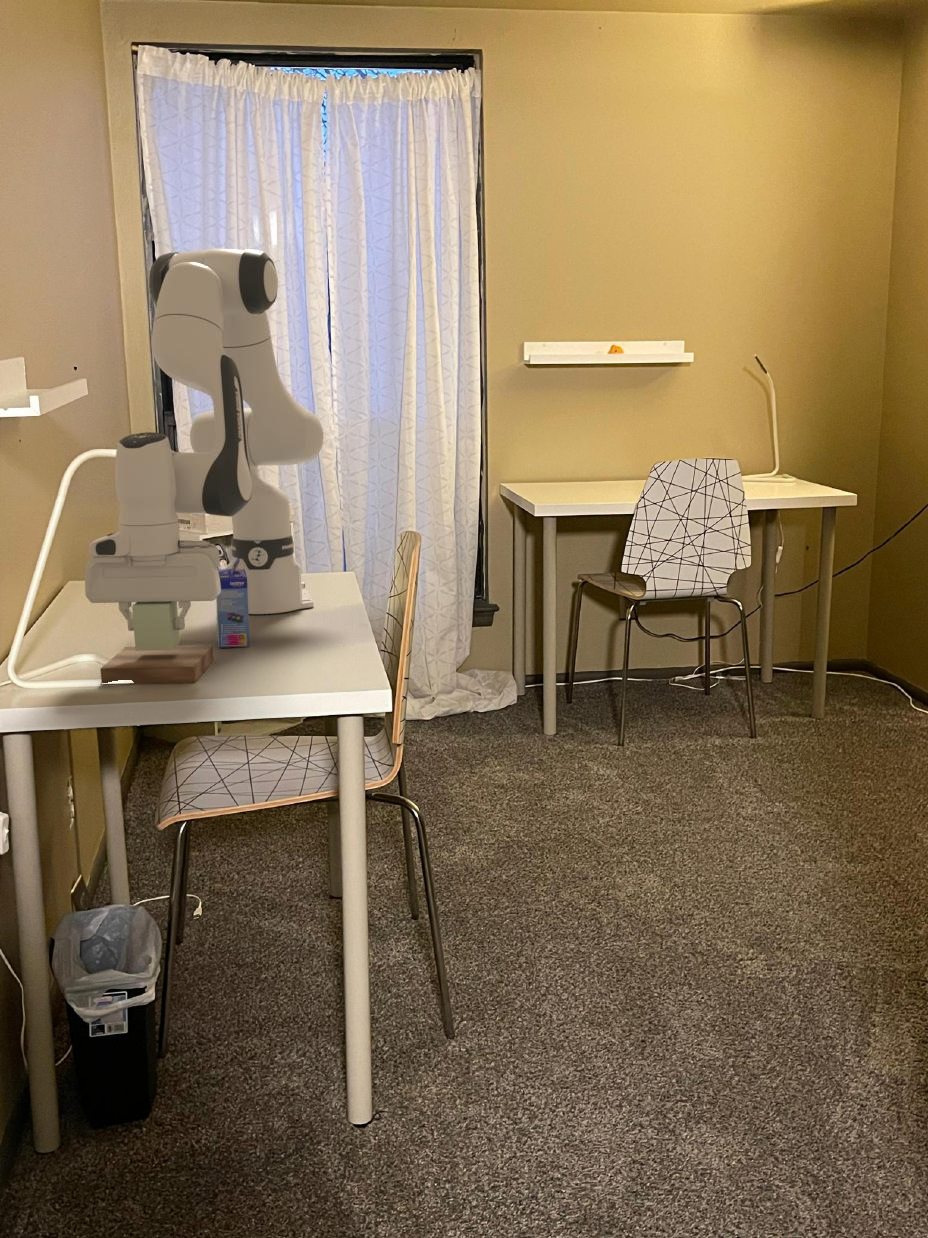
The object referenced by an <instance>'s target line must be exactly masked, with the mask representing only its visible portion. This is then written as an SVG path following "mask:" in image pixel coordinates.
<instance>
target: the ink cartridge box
mask: <svg viewBox="0 0 928 1238" xmlns="http://www.w3.org/2000/svg"><path fill="white" fill-rule="evenodd" d="M239 562H240V560H239V557H238V558H237V560H236V561H235V563H234V565H233V567H232V569H225V568H223V569H218V573H219V578H220V585H221V592H220V594H219V596H218V597H217V598H216V599H215V600H216V603H215V604H216V630H217V631H216V632H217V635H216V636H217V646H218V648H219V649H220V648H222V649H223V648H224V649H225V648H226V649H227V648H248V647H250V618H249V617H250V616H249V615H250V614H249V611H248V585H247V576H246V572H245V569H236V568H237V566H238V564H239Z"/></svg>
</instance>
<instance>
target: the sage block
mask: <svg viewBox="0 0 928 1238" xmlns="http://www.w3.org/2000/svg"><path fill="white" fill-rule="evenodd" d="M131 608H132V609H131V613H132V614H133V625H134V631H133V635H134V647H135V651H147V650H172V649H173V648H174V647H175V646H178V644H179V643H180V642H181V640H180V630H173V625H174V624H173V620H172V619H173V618H174V617H179V611H178V601H176V602H134V604H132V606H131Z"/></svg>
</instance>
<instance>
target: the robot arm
mask: <svg viewBox="0 0 928 1238" xmlns="http://www.w3.org/2000/svg"><path fill="white" fill-rule="evenodd" d="M148 276H149V277H148V278H149V279H148V280H149V281H148V282H149V283H148V284H149V291H150V294H151V295H150V296H151V297H152V300H153V302H154V304H155V305H156V306H155V312H154V316H153V325H152V333H151V351H152V356H153V358H154V361H155V363H156V364H157V365H158V367H159V368H160V369H161V370H162V371H163V373H164V374H165V375H167V376H168V377H169V378H171V379H172V380H173V381H176V382H177V383H179V384H181V385H183V386H186V387H189V388H191V389H193V390H195V391H198V392H201V393H204V394H205V395H207V396H210V398H211V401H212V407H213V410H208V411H204V412H201V413H199V414H198V415H197V416H196V417H195V418H194V420H193V422H192V424H191V427H190V431H189V441H190V445H191V448H192V452H181V451H175V450H174V449H172V448H171V444H170V440H169V437H168V436H167V435H165V434H163V433H160V432H153V431H152V432H150V431H149V432H147V431H146V432H139V433H133V434H129V435H126V436H124V437H123V438H121V439H120V440H118V442H117V445H116V453H115V465H114V466H115V470H114V471H115V472H114V473H115V490H116V491H115V493H116V497H117V501H118V503H119V507H120V511H119V517H118V531H117V532H116V531H115V532H114V531H113V532H111V533H109V534H107V535H105V536H102V537H99V538H97V539H94V540H93V541H92V542H90V543H89V545H88V553H89V555H90V556H91V558H90V559H89V560H88V561H87V563H86V566H85V572H84V573H85V574H84V575H85V576H84V589H85V590H84V592H85V593H84V594H85V597H86V599H87V600H88V601H89V602H90V603H92V604H107V603H108V604H110V603H111V604H113V603H114V604H115V603H116V604H117V603H118V609H119V612H120V613H121V615H122V616H123V617H124V618H125V620H126V621H127V629H128V630H127V631H129V632H134V625H133V612H132V610H130V608H132V606H133V604H132V603H137V602H176V601H177V604H178V608H179V609H181V611H180V613H179V614H178V617H174V618H173V619H172V620H173V624H174V625H173V630H179V631H183V630H185V627H186V624H185V622H186V621H185V618H186V616H187V614H188V612H189V610H190V608H191V605H192V602H212V601H215V600H216V598H217V597H218V596H219V594H220V592H221V585H220V578H219V573H218V570H219V568H218V567H219V565H220V562H221V559H220V550H219V548H218V546H217V545H215V543H212V542H210V541H209V540H205V539H203V540H202V539H201V540H181V539H180V537H181V536H180V522H179V521H180V520H179V516H178V514H192V515H194V514H195V515H196V514H197V515H199V514H203V515H204V514H206V515H211V516H220V517H228V518H230V517H231V522H232V524H231V525H232V538H231V540H230V541H231V545H230V549H231V556H232V559H231V561H230V563H228V564H227V565H226V566H225V568H224V569H232V567H233V565H234V563H235V561H236V560H237V558H238V557H239V560H240V562H239V564H238V566H237V568H236V569H245V572H246V576H247V585H248V611H249V615H264V614H265V615H268V614H270V615H271V614H280V613H286V612H287V613H288V612H292V611H296V610H302V609H308V608H314V601H313V599H312V596H311V594H310V592H309V590H308V589H306V584H305V582H304V581H302V567H301V565H300V564H299V562H298V561H296V559H295V557H294V553H295V549H294V548H295V547H294V546H295V543H294V537H293V536H292V535H291V519H290V501H289V498H288V496H287V495H286V493H285V492H284V491H283V490H282V489H281V488H279V487H277V486H276V485H274V484H272V483H270V482H268V481H266V480H265V479H264V478H263V477H262V474H261V473H260V470H259V466H293V465H299V464H303V463H308V462H311V461H314V460H315V459H316V458H317V457H318V455H319V454H320V452H321V450H322V447H323V443H324V431H323V425H322V423H321V422H320V419H319V418H318V416H317V415H315V413H314V412H313V411H311V410H309V409H307V408H306V407H305V406H303V405H302V404H301V403H300V402H298V400H296V399H295V397H293V395H291V393H290V391H289V390H288V389H287V387H286V386H285V384H284V382H283V381H282V378H281V376H280V374H279V370H278V366H277V362H276V358H275V354H274V353H275V352H274V347H273V341H272V335H271V327H270V323H269V319H268V315H267V311H268V310H269V309H270V308H271V307H272V306H273V305H274V303H275V302H276V300H277V297H278V288H279V278H278V277H279V276H278V273H277V269H276V265H275V262H274V261H273V259H272V258H271V257H270V255H268V254H267V253H266V252H264V251H262V250H257V249H250V248H246V249H244V250H243V249H242V250H241V249H233V248H209V249H202V250H201V249H200V250H192V251H191V250H190V251H184V252H179V251H172V252H167V253H164V254H161V255H159V256H158V257H157V258H156V260H155V261H154V262H153V264H152V265H151V267H150V271H149V275H148ZM244 403H245V404H247V405H248V407H244Z"/></svg>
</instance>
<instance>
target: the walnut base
mask: <svg viewBox="0 0 928 1238" xmlns="http://www.w3.org/2000/svg"><path fill="white" fill-rule="evenodd" d="M213 648H214V647H213V644H212V645H211V644H209V645H208V644H207V645H206V644H204V645H202V644H201V645H176V646H175V647H174V648H173V649H172V650H147V651H135V646H125V647H124V648H123V649H122V650H120V652H119V651H118V653H117V654H116V655H114V656H113V657H112V658H111V659H110V660H108V661H107V662H106V663H105V664H104V665H103V666H102V667H101V668H99V669H100V679H101V681H100V682H101V684H102V683H108V682H112V681H118V680H132V681H133V682H134V684H133V685H145V684H147V685H150V684H151V685H152V684H153V685H154V684H156V685H157V684H159V685H160V684H161V685H162V684H195V683H196V682H197V681H198V680H199V679H200V678H201V676H202V675H203V674H204V672H205V671H206V670H208V668H209V666H210V665H211V664H212V663H213V662H214V649H213Z"/></svg>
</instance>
